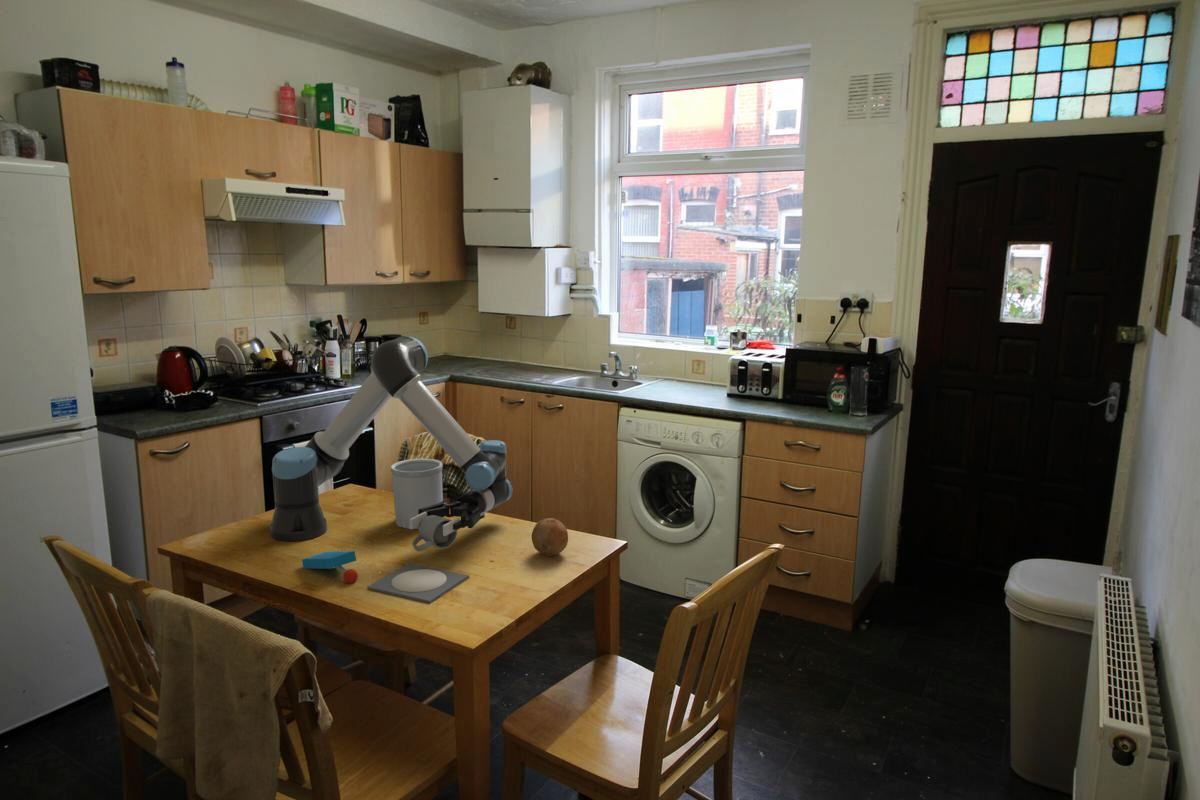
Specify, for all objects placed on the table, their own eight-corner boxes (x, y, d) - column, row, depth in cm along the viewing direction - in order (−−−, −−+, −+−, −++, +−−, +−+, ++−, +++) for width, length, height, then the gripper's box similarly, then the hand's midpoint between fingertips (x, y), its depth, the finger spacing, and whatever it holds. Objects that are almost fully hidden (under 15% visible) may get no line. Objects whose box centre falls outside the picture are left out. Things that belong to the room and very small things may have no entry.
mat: (367, 589, 186) (367, 585, 186) (409, 565, 201) (409, 562, 200) (430, 603, 179) (430, 600, 179) (469, 577, 193) (469, 574, 193)
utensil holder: (383, 527, 227) (381, 469, 224) (407, 511, 242) (405, 456, 238) (430, 532, 224) (429, 473, 221) (452, 515, 238) (450, 460, 235)
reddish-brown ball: (569, 547, 214) (569, 512, 212) (566, 562, 204) (567, 525, 202) (533, 547, 214) (533, 512, 212) (529, 561, 204) (529, 524, 202)
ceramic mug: (440, 536, 211) (439, 509, 210) (458, 544, 206) (457, 516, 204) (405, 547, 204) (404, 518, 202) (423, 555, 198) (422, 527, 197)
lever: (307, 586, 199) (342, 587, 186) (301, 559, 199) (336, 558, 186) (331, 578, 204) (367, 579, 191) (326, 551, 204) (362, 550, 191)
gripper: (509, 522, 217) (464, 548, 197) (442, 509, 226) (392, 534, 206) (509, 496, 216) (463, 520, 196) (442, 484, 225) (391, 506, 205)
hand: (427, 527), depth 201 cm, fingers closed on ceramic mug, 10 cm apart
